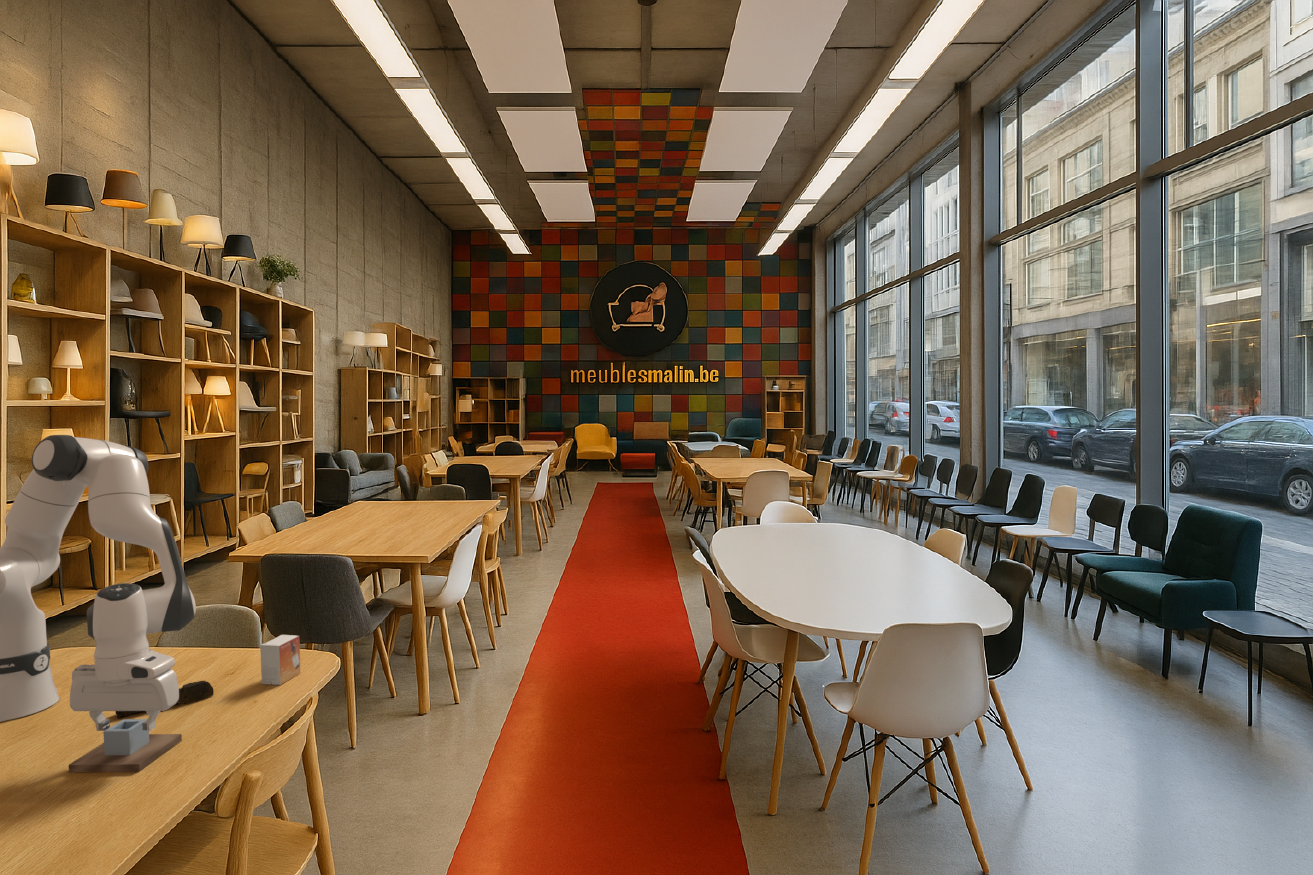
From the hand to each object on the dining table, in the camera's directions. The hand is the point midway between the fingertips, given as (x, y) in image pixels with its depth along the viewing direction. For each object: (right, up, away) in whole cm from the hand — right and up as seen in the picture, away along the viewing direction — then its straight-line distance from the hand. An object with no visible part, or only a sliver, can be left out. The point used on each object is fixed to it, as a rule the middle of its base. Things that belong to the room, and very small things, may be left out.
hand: (126, 729), depth 139 cm
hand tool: (-9, -5, +23) cm, 25 cm away
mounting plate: (0, -6, 0) cm, 6 cm away
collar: (0, -4, 0) cm, 4 cm away
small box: (+11, -4, +38) cm, 40 cm away
